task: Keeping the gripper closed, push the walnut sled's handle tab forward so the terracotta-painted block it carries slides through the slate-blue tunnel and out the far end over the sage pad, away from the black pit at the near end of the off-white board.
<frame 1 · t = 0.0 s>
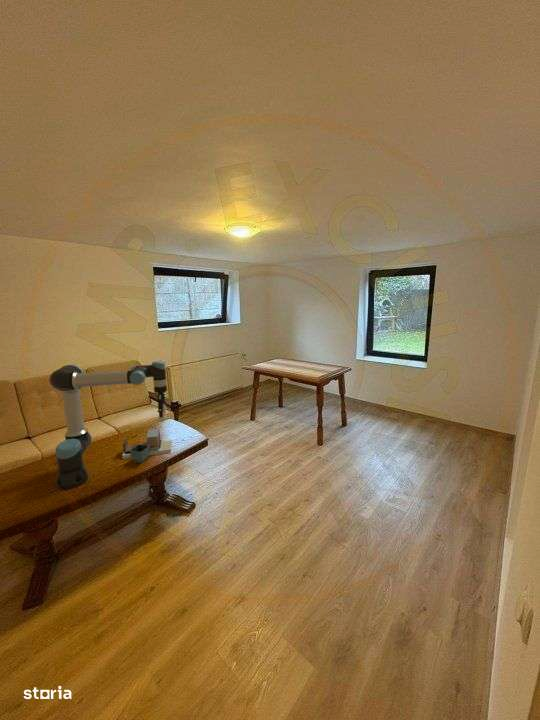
hand: (162, 417, 187), 28 cm above the table, fingers open, 13 cm apart
flower pot: (140, 461, 188), on the table
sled: (142, 443, 199), point 6 cm above the table, slide at 0.0 cm, touching terracotta block
board: (148, 450, 201), on the table
tunnel: (154, 449, 202), resting on board
terracotta block: (154, 444, 201), point 4 cm above the table, touching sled
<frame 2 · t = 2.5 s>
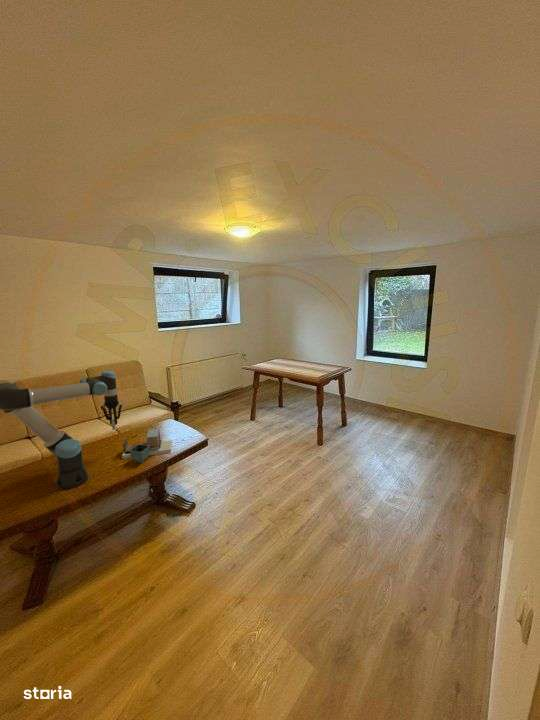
hand: (114, 429, 192), 18 cm above the table, fingers closed
nothing on the table moved.
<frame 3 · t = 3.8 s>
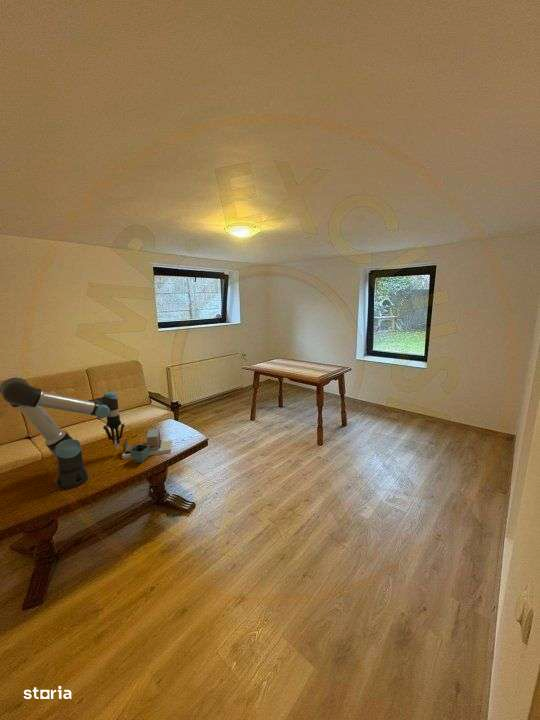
hand: (116, 448, 195), 5 cm above the table, fingers closed
nothing on the table moved.
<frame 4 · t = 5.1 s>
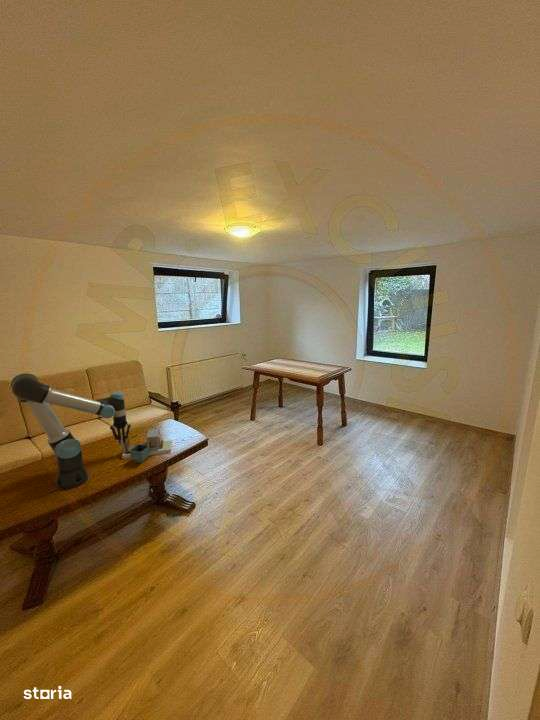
hand: (123, 448, 196), 4 cm above the table, fingers closed
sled: (144, 443, 199), point 6 cm above the table, slide at 1.3 cm, touching gripper, terracotta block
terracotta block: (156, 444, 202), point 4 cm above the table, touching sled
everything else where it was.
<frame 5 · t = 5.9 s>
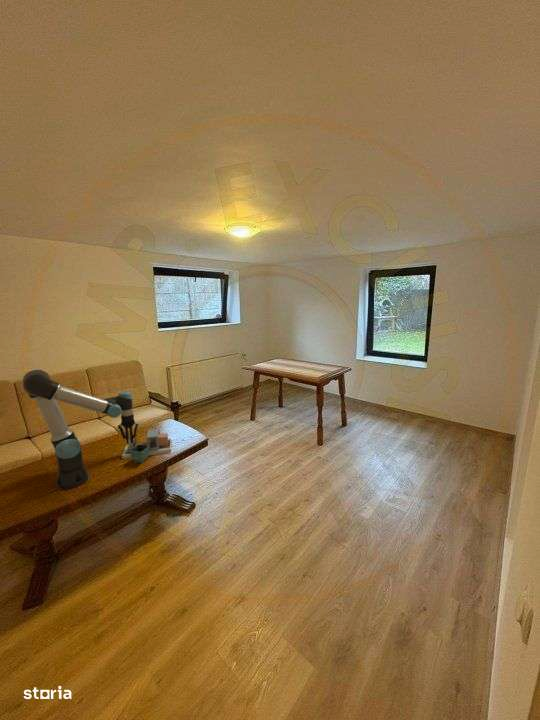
hand: (130, 447, 197), 4 cm above the table, fingers closed
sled: (152, 442, 201), point 6 cm above the table, slide at 6.0 cm, touching gripper, terracotta block
terracotta block: (163, 443, 203), point 4 cm above the table, touching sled
everything else where it was.
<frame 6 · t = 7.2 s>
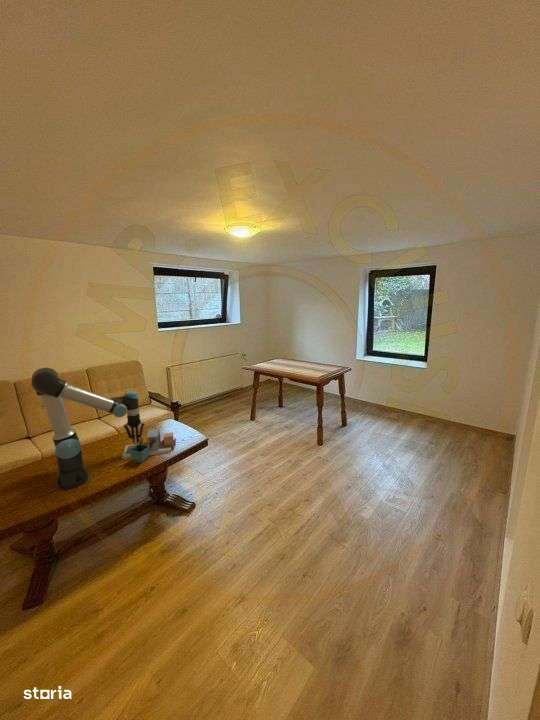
hand: (136, 446, 198), 4 cm above the table, fingers closed
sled: (157, 441, 202), point 6 cm above the table, slide at 9.7 cm, touching gripper, terracotta block
terracotta block: (168, 442, 204), point 4 cm above the table, touching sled
everything else where it was.
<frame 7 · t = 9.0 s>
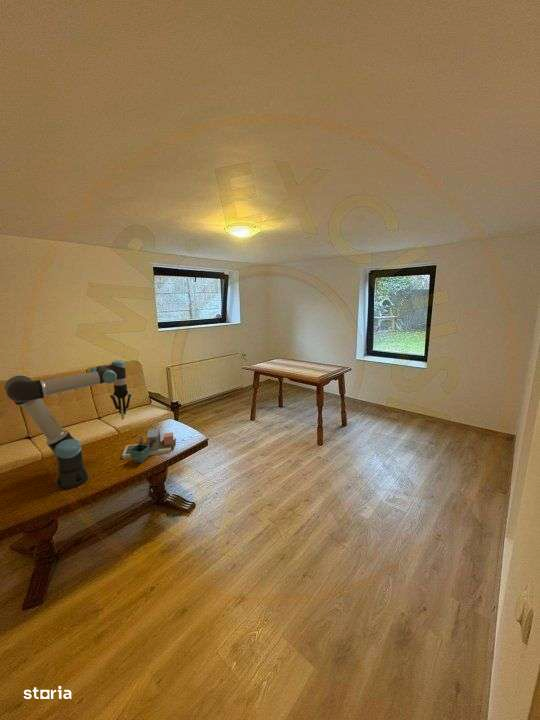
hand: (123, 418, 194), 24 cm above the table, fingers closed
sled: (157, 441, 202), point 6 cm above the table, slide at 9.7 cm, touching terracotta block
everything else where it was.
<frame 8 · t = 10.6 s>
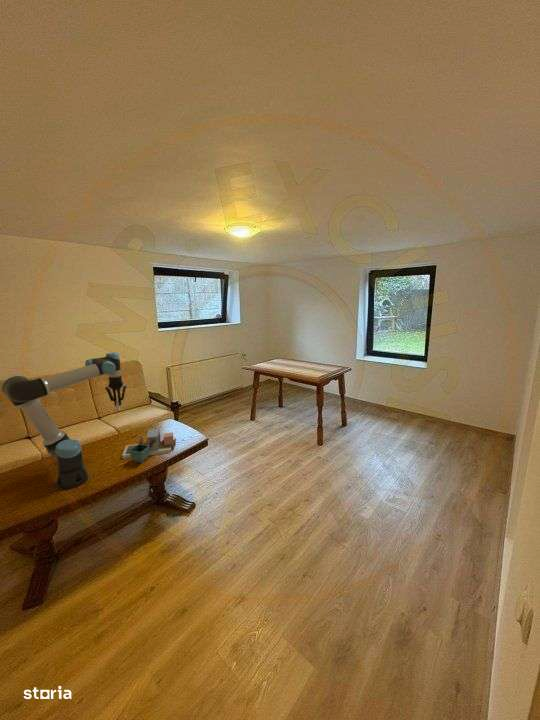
hand: (118, 410, 196), 29 cm above the table, fingers closed
nothing on the table moved.
at the end: terracotta block inside the target area (0.5 cm from its centre), point 4.0 cm above the table; terracotta block tilted 0°; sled slide at 9.7 cm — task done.
